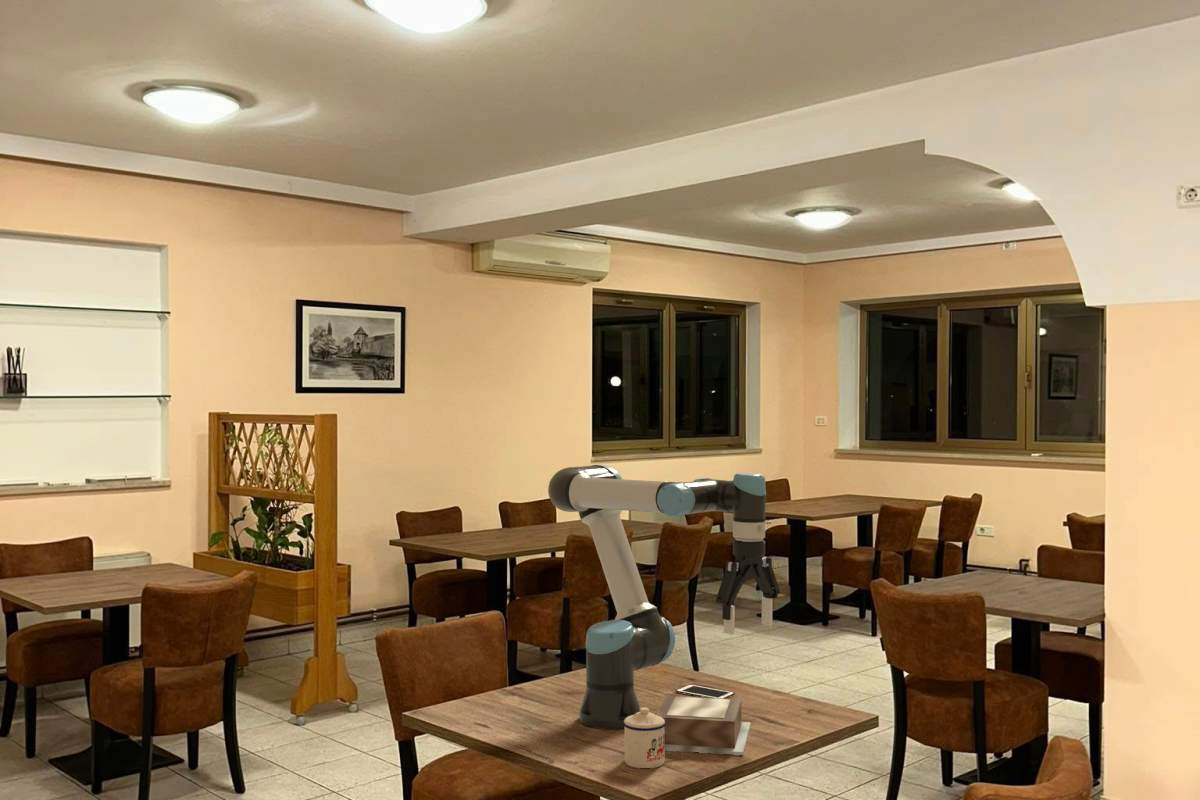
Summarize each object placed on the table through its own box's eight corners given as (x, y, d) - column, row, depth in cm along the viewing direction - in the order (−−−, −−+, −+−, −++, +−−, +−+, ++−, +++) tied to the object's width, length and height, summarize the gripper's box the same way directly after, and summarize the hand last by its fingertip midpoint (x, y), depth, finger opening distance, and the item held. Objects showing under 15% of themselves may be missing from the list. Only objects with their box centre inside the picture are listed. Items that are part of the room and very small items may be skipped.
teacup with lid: (653, 772, 221) (652, 717, 221) (615, 765, 225) (615, 710, 225) (679, 756, 231) (678, 703, 231) (643, 749, 236) (642, 697, 236)
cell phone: (689, 687, 288) (689, 683, 288) (736, 696, 279) (736, 692, 279) (674, 693, 282) (674, 690, 282) (721, 702, 273) (721, 699, 273)
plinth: (644, 749, 235) (644, 718, 235) (659, 720, 257) (659, 691, 257) (743, 755, 231) (742, 723, 231) (750, 725, 252) (750, 696, 252)
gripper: (725, 545, 236) (724, 640, 236) (795, 536, 252) (794, 624, 252) (701, 542, 241) (700, 634, 242) (770, 532, 258) (769, 619, 258)
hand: (748, 629), depth 247 cm, fingers open, 13 cm apart
